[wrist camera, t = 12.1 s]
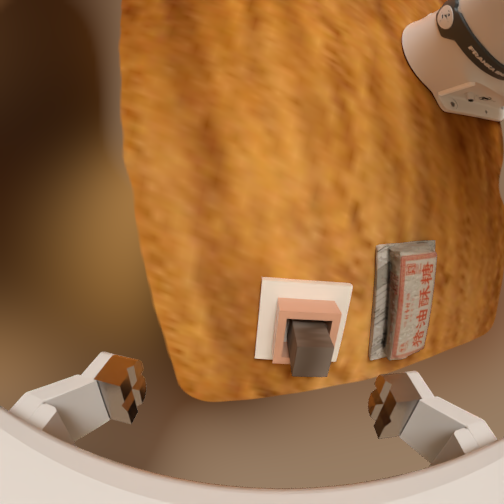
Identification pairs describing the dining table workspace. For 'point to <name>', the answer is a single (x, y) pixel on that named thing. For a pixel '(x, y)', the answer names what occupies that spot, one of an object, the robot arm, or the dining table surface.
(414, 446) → the robot arm
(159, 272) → the dining table surface
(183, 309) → the dining table surface
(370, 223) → the dining table surface
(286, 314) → the square socket base
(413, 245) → the packaged product
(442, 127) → the dining table surface
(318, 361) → the peg
